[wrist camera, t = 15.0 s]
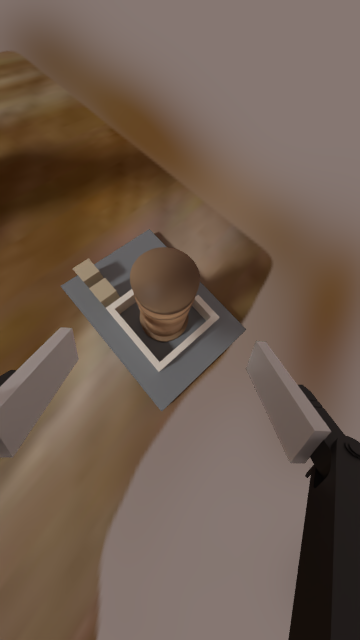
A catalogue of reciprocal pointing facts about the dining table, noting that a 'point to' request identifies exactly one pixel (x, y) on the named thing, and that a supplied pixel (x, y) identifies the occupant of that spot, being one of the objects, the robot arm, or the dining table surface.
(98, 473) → the dining table surface
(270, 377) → the robot arm
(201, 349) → the board
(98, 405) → the dining table surface
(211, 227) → the dining table surface
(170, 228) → the dining table surface
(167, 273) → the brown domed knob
